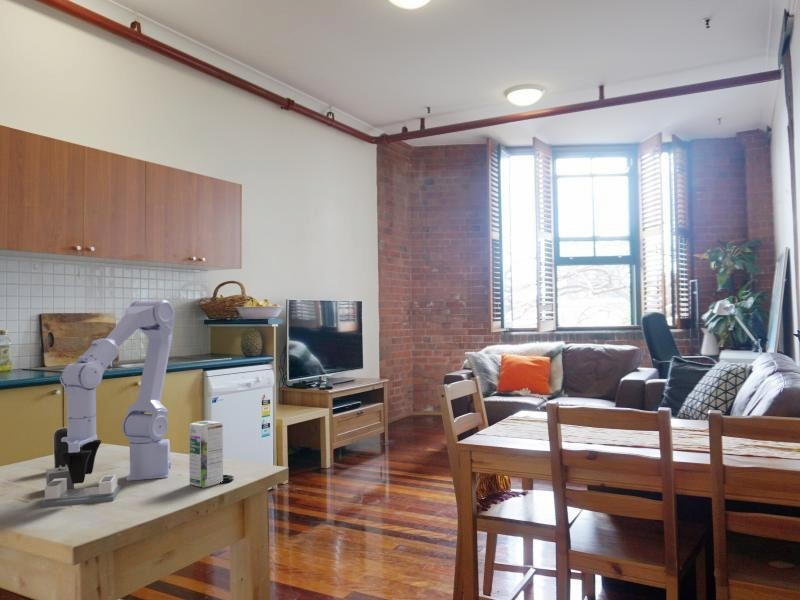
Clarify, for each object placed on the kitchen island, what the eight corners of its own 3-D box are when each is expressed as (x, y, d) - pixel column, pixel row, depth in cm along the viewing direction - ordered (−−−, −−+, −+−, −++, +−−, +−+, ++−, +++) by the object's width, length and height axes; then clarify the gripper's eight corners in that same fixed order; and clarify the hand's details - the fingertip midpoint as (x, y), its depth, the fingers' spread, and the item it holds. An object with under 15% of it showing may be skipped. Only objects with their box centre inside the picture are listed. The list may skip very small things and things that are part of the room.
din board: (120, 489, 139) (120, 483, 139) (113, 501, 130) (113, 494, 130) (53, 495, 135) (53, 489, 135) (40, 508, 127) (40, 501, 127)
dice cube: (49, 496, 136) (48, 473, 136) (46, 491, 140) (46, 469, 140) (74, 491, 139) (73, 470, 139) (70, 486, 143) (70, 465, 143)
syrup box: (188, 484, 142) (187, 423, 142) (209, 478, 147) (208, 419, 147) (203, 488, 139) (202, 425, 139) (224, 482, 143) (223, 421, 144)
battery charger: (56, 475, 153) (55, 430, 153) (52, 472, 156) (52, 428, 156) (86, 470, 157) (85, 426, 158) (82, 467, 160) (82, 424, 160)
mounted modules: (117, 484, 138) (117, 472, 138) (111, 493, 131) (111, 481, 131) (54, 490, 135) (54, 478, 135) (44, 499, 128) (44, 486, 128)
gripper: (70, 412, 139) (70, 471, 139) (52, 423, 125) (52, 489, 125) (103, 410, 141) (104, 469, 141) (89, 421, 127) (90, 485, 127)
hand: (82, 478), depth 133 cm, fingers open, 7 cm apart
